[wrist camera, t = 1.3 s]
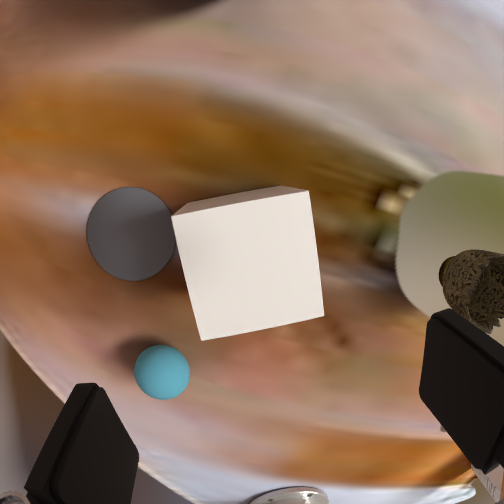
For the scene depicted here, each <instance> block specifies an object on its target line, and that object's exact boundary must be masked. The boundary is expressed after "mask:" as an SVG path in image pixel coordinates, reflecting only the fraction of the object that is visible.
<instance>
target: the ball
mask: <svg viewBox="0 0 504 504" xmlns="http://www.w3.org/2000/svg"><path fill="white" fill-rule="evenodd" d="M134 375H135V379H136V382H137V384H138V386H139V387H140V388H141V390H142V391H143V392H144V393H146V394H147V395H149V396H150V397H153V398H156V399H161V400H166V399H171V398H174V397H176V396H178V395H179V394H181V393H182V392H183V391H184V390H185V388H186V387H187V385H188V382H189V378H190V369H189V365H188V362H187V360H186V359H185V357H184V356H183V355H182V354H181V353H180V352H179V351H178V350H177V349H175V348H173V347H171V346H167V345H154V346H151V347H149V348H147V349H145V350H144V351H143V352H142V353H141V354H140V355H139V356H138V358H137V360H136V363H135V367H134Z"/></svg>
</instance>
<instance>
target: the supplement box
mask: <svg viewBox="0 0 504 504" xmlns="http://www.w3.org/2000/svg"><path fill="white" fill-rule="evenodd" d="M471 468H472V470H473V471H474V472H475V474H476V475H477V476H478V478H479V479H480V481H481V482H482V483H483V484H484V486H485V487H486V489H487V490H488V491H489V493H490V494H491V496H492V497H493V498H494V500H495V501H496V503H497V502H499V500H500V494H501V487H502V480H503V471H504V469H503V467H502V466H501V465H499V466H498V467H497V468H495V469H494V470H492V471H491V472H489V473H488V474H486V475H484V473H483V472H482V471H481V469H476V468H474V467H473V465H472V464H471Z"/></svg>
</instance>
